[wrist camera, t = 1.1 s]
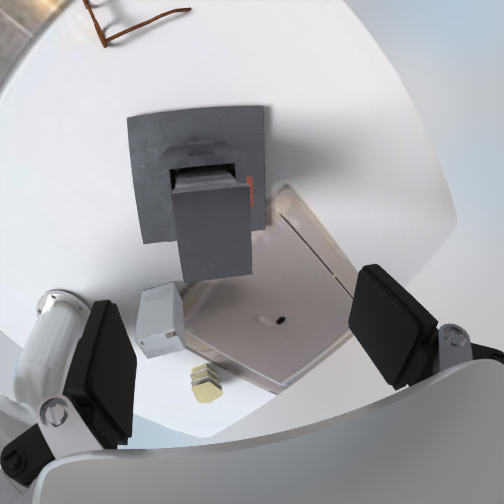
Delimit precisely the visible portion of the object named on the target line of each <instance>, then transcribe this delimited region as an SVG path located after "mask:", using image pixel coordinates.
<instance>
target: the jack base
mask: <svg viewBox="0 0 504 504" xmlns="http://www.w3.org/2000/svg"><path fill="white" fill-rule="evenodd" d="M127 127H128V139H129V150H130V159H131V168H132V176H133V184H134V191H135V198H136V204H137V210H138V216H139V222H140V228H141V233H142V239H143V244H149V243H156V242H164V241H168V242H170V241H177V235H176V228H175V220H174V213H173V204H172V196H171V193H172V190H174V189H175V188H176V186H175V183H176V178H177V176H178V170H179V168H186V167H195V166H205V165H216V164H222V165H223V166H224V167H225V168H226V170H227V171H228V172H229V173H231V175H232V177H235V180H236V181H237V182H239V183H247V184H248V185H249V186H250V210H251V231H257V230H265V160H264V109H263V106H229V107H211V108H197V109H186V110H177V111H168V112H161V113H153V114H147V115H140V116H135V117H129V118H127Z"/></svg>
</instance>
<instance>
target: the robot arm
mask: <svg viewBox="0 0 504 504" xmlns="http://www.w3.org/2000/svg"><path fill="white" fill-rule="evenodd" d="M36 311H37V317H38V320H37V322H36V324H35V326H34V328H33V329H32V331H31V333H30V335H29V337H28V339H27V342H26V344H25V346H24V348H23V350H22V352H21V354H20V357H19V359H18V361H17V364H16V366H15V368H14V370H13V374H12V388H13V393H14V397H15V400H16V402H14V401H12V400H10V399H9V398H8V397H6V396H5V395H3V394H2V393H1V392H0V464H1V467H2V468H1V469H0V504H504V353H503V352H502V351H500V350H497V349H493V348H489V347H486V346H482V345H478V344H474V343H470V338H469V335H468V334H467V332H466V331H465V330H464V329H463V328H461V327H460V326H458V325H455V324H444V325H442V326H441V327H440V329H439V330H438V329H437V328H436V326H437V324H438V321H437V320H436V319H435V318H434V317H433V316H432V315H431V314H430V313H429V312H428V311H427V310H426V309H425V308H424V307H423V306H422V305H421V304H420V303H419V302H418V301H417V300H416V299H415V298H414V297H413V296H412V295H411V294H410V293H408V292H407V291H406V290H405V289H404V288H403V287H402V286H401V285H400V284H399V283H398V282H397V281H396V280H395V279H393V278H392V277H391V276H390V275H389V274H388V273H387V272H386V271H385V270H384V269H382V268H381V267H380V266H379V265H378V264H371V265H366V266H363V268H362V270H360V271H359V274H358V279H357V284H356V289H355V294H354V298H353V303H352V308H351V312H350V316H349V321H348V324H349V328H350V330H351V331H352V333H353V334H354V335H355V337H356V338H357V340H358V341H359V342H360V344H361V345H362V347H363V348H364V350H365V351H366V353H367V354H368V356H369V357H370V358H371V360H372V361H373V363H374V364H375V366H376V367H377V369H378V370H379V372H380V373H381V375H382V376H383V377H384V379H385V380H386V382H387V383H388V384H389V385H392V386H393V388H394V389H395V390H398V389H400V388H402V387H405V386H406V385H407V384H408V385H409V387H408V388H406V389H404V390H402V391H400V392H398V393H395V394H393V395H391V396H389V397H386V398H384V399H382V400H379V401H377V402H374V403H372V404H369V405H367V406H364V407H361V408H359V409H356V410H353V411H350V412H348V413H345V414H342V415H339V416H336V417H333V418H330V419H327V420H324V421H320V422H317V423H314V424H310V425H306V426H303V427H299V428H295V429H291V430H287V431H283V432H279V433H275V434H270V435H265V436H260V437H255V438H250V439H244V440H238V441H232V442H225V443H218V444H210V445H201V446H189V447H176V448H159V449H117V445H127V443H128V438H129V437H130V438H131V436H132V422H133V421H132V420H133V404H134V390H135V378H136V368H137V358H136V354H135V352H134V349H133V347H132V345H131V342H130V340H129V337H128V335H127V332H126V330H125V327H124V324H123V322H122V319H121V316H120V313H119V311H118V308H117V305H116V304H115V303H113V304H112V302H111V301H110V300H102V301H95V302H94V304H93V307H92V309H91V310H90V309H89V308H88V306H87V305H86V304H85V303H84V302H83V301H81V300H80V299H79V298H77V297H76V296H74V295H72V294H70V293H67V292H64V291H59V290H55V291H49V292H47V293H45V294H44V295H43V296H42V297H41V298H40V300H39V301H38V304H37V309H36Z"/></svg>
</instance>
